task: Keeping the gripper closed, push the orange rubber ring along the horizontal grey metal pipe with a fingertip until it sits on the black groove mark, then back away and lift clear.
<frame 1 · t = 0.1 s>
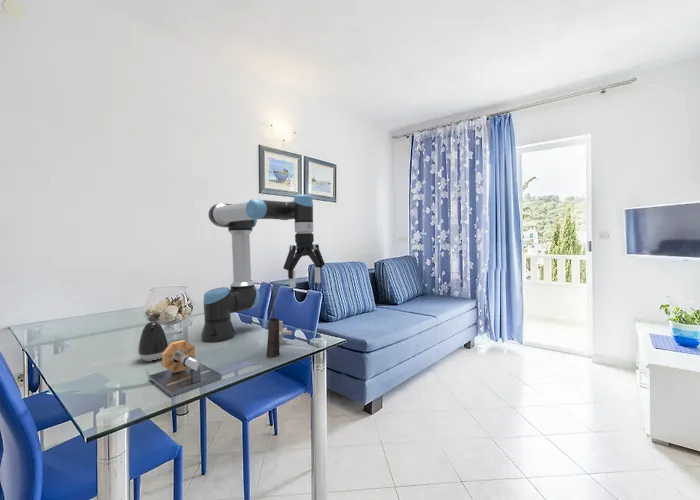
hand: (305, 284, 132), 28 cm above the table, tool pointing down, fingers open, 13 cm apart
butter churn: (274, 356, 130), on the table
pipe connector: (281, 343, 144), on the table
black dome: (154, 359, 129), on the table
pipe stand: (185, 379, 110), on the table
ring: (178, 356, 112), point 7 cm above the table, slide at 0.0 cm
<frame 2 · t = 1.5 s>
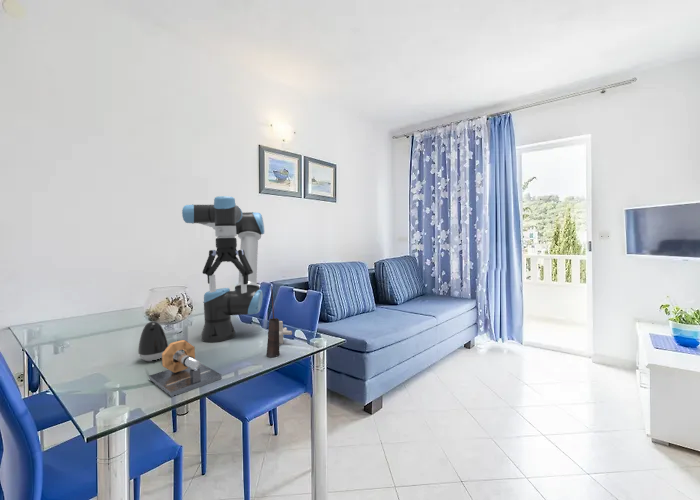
hand: (228, 292, 124), 27 cm above the table, tool pointing down, fingers open, 13 cm apart
nothing on the table moved.
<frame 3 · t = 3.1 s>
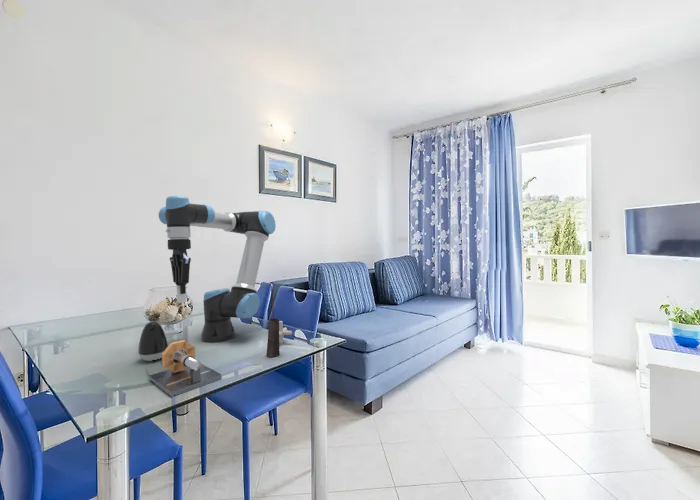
hand: (181, 302, 119), 24 cm above the table, tool pointing down, fingers closed
nothing on the table moved.
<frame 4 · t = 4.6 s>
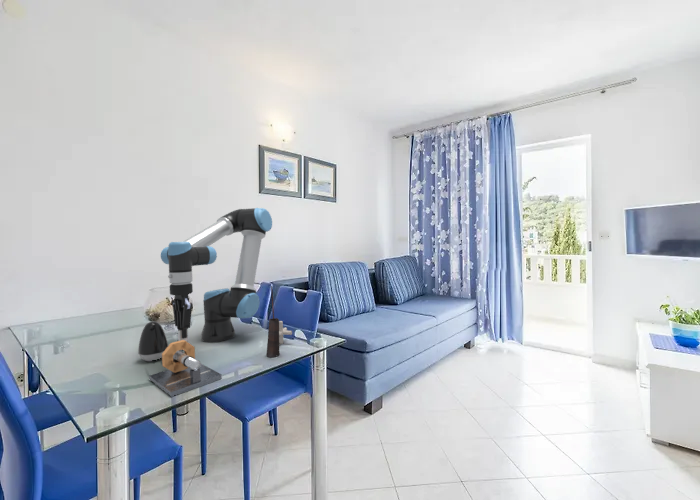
hand: (183, 346, 120), 8 cm above the table, tool pointing down, fingers closed
nothing on the table moved.
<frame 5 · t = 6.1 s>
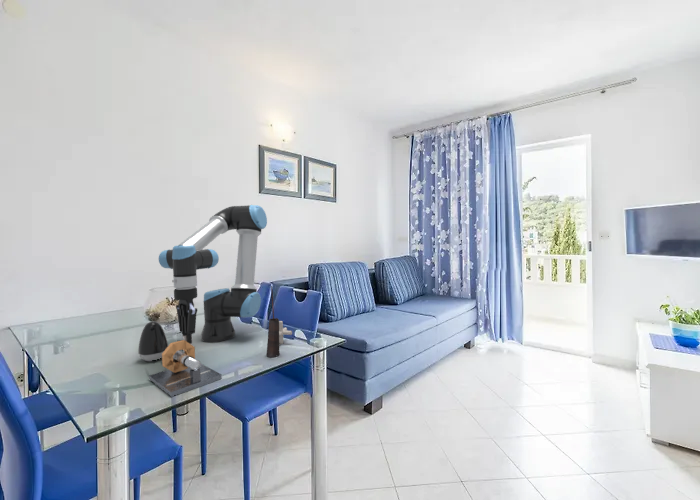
hand: (188, 351, 117), 7 cm above the table, tool pointing down, fingers closed
ring: (178, 356, 112), point 7 cm above the table, slide at 0.0 cm, touching gripper
everything else where it was.
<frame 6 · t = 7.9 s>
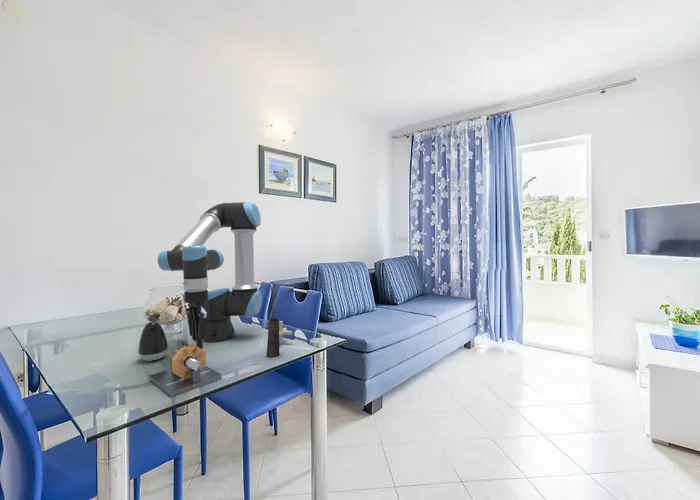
hand: (198, 357, 112), 6 cm above the table, tool pointing down, fingers closed
ring: (189, 361, 107), point 7 cm above the table, slide at 8.3 cm, touching gripper
everything else where it was.
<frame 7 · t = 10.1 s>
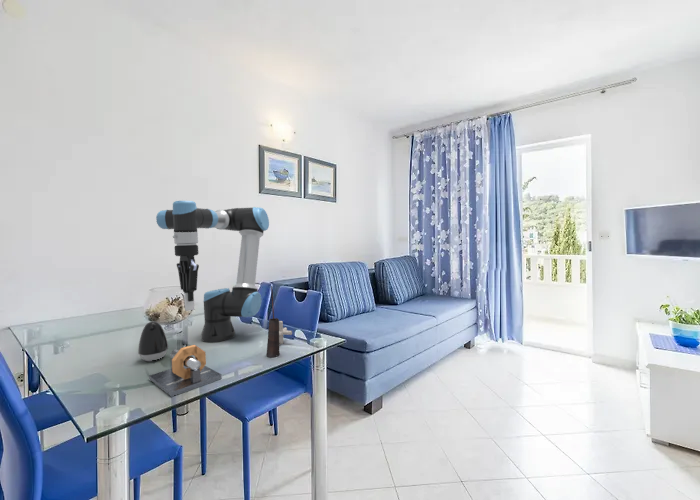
hand: (189, 309, 116), 22 cm above the table, tool pointing down, fingers closed
ring: (189, 361, 107), point 7 cm above the table, slide at 8.4 cm
everything else where it was.
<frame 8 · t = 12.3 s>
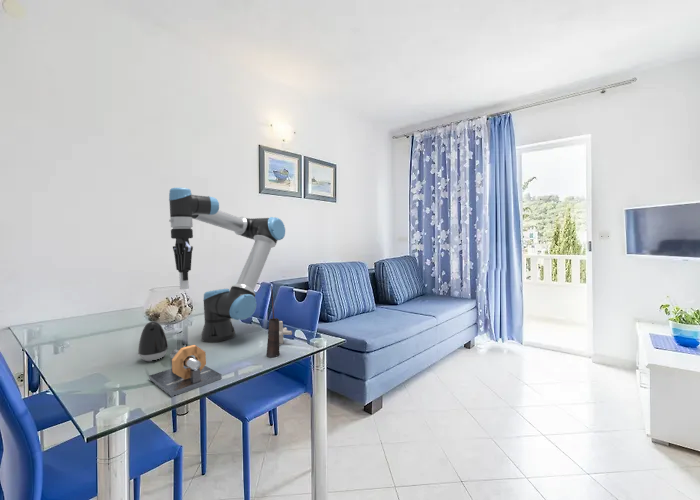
hand: (184, 288, 126), 28 cm above the table, tool pointing down, fingers closed
nothing on the table moved.
at the end: ring slide at 8.4 cm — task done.
